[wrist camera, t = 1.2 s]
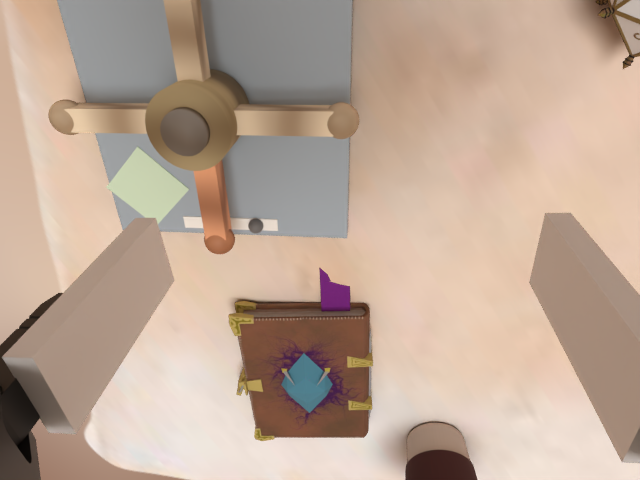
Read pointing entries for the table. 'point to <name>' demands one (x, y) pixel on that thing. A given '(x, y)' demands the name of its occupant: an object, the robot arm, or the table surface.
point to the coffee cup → (437, 454)
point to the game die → (625, 24)
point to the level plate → (260, 87)
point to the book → (306, 365)
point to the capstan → (202, 119)
